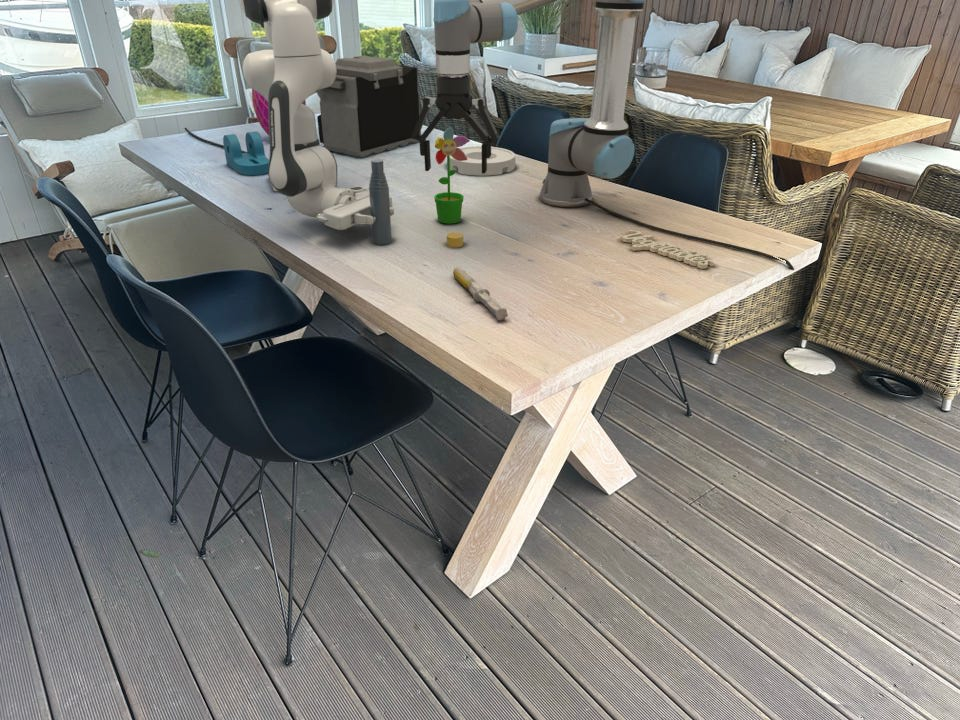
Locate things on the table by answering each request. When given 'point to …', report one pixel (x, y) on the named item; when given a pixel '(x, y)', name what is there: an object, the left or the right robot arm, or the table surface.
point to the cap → (454, 240)
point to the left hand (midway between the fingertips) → (383, 216)
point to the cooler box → (369, 106)
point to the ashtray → (496, 163)
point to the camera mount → (246, 154)
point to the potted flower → (449, 201)
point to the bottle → (380, 204)
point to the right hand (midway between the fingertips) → (456, 170)
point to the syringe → (479, 293)
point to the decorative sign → (666, 249)
